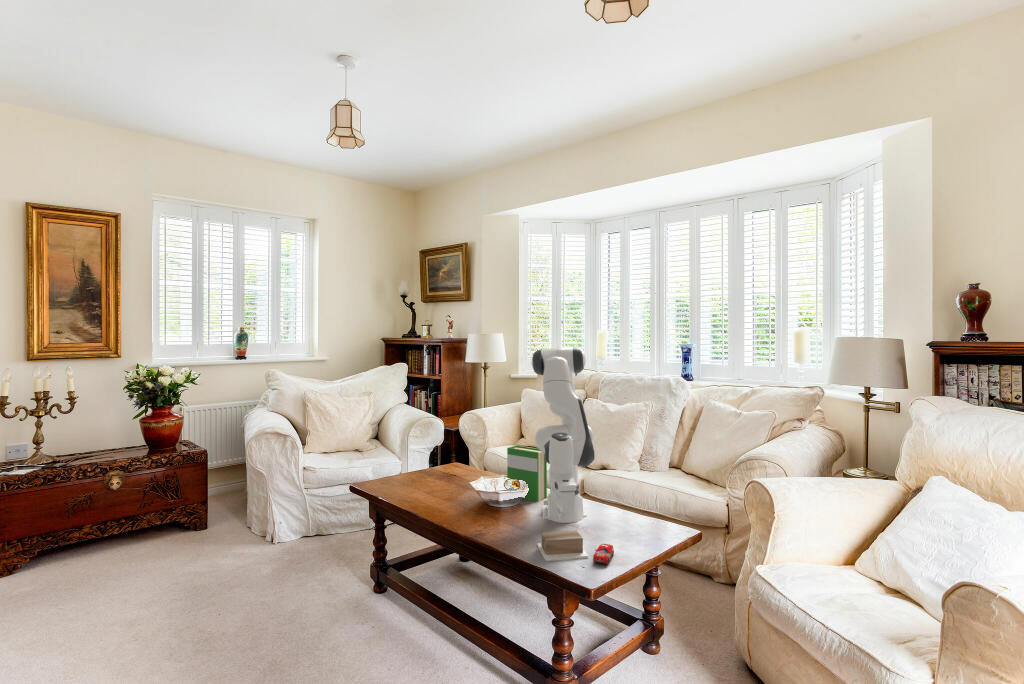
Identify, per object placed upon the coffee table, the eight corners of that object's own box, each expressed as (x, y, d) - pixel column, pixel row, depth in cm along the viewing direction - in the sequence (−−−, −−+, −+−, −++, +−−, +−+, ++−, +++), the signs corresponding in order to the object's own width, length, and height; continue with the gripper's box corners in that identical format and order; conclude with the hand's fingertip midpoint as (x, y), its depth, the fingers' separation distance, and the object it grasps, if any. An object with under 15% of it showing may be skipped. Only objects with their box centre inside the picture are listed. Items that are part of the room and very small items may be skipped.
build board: (537, 546, 195) (537, 543, 195) (576, 543, 197) (576, 540, 197) (545, 562, 181) (545, 558, 181) (588, 559, 183) (588, 555, 183)
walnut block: (541, 546, 192) (541, 532, 192) (576, 543, 194) (576, 530, 194) (546, 555, 184) (546, 540, 184) (582, 552, 186) (582, 538, 186)
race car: (607, 566, 176) (607, 554, 176) (591, 563, 178) (591, 551, 178) (616, 553, 188) (616, 541, 188) (600, 550, 190) (601, 539, 190)
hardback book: (546, 501, 250) (546, 449, 249) (537, 505, 244) (537, 452, 244) (517, 494, 261) (516, 445, 260) (507, 498, 255) (507, 447, 255)
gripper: (546, 473, 199) (546, 510, 199) (559, 487, 178) (559, 529, 178) (562, 472, 200) (563, 509, 200) (577, 486, 179) (578, 528, 179)
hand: (561, 519), depth 189 cm, fingers closed
